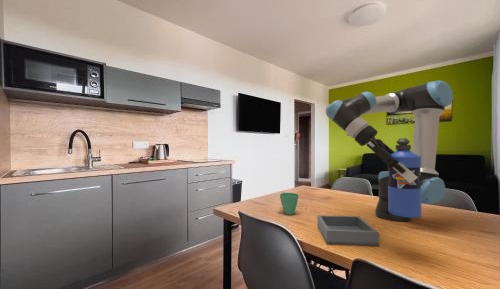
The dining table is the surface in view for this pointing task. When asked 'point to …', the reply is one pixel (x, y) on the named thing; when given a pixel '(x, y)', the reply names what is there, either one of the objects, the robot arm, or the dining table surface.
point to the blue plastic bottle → (405, 184)
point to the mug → (289, 202)
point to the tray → (347, 231)
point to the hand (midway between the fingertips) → (415, 178)
